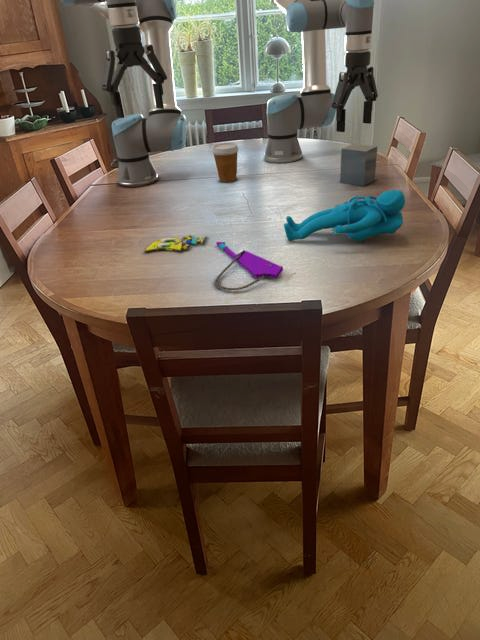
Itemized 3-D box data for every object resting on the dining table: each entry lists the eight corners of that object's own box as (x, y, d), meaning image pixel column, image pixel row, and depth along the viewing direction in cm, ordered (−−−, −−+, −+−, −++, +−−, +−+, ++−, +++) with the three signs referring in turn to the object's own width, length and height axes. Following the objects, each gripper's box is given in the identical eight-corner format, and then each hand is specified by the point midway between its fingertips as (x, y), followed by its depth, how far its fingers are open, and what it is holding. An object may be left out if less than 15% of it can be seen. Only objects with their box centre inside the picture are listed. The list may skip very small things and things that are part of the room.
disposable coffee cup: (210, 183, 175) (207, 149, 168) (221, 175, 182) (218, 142, 175) (235, 184, 171) (232, 149, 165) (244, 176, 178) (242, 142, 172)
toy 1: (199, 248, 125) (143, 249, 127) (199, 251, 125) (144, 252, 127) (206, 233, 133) (154, 234, 135) (206, 236, 133) (154, 237, 136)
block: (363, 186, 159) (366, 151, 153) (340, 182, 164) (341, 148, 158) (374, 180, 163) (377, 146, 157) (351, 176, 169) (352, 143, 163)
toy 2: (287, 204, 132) (400, 176, 122) (297, 239, 137) (406, 215, 127) (278, 228, 119) (405, 199, 108) (290, 266, 124) (412, 242, 113)
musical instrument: (257, 302, 103) (298, 254, 115) (255, 294, 102) (297, 246, 114) (172, 286, 116) (218, 244, 128) (170, 279, 114) (216, 237, 127)
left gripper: (90, 31, 118) (110, 122, 129) (171, 21, 131) (182, 105, 143) (76, 32, 122) (96, 120, 134) (155, 22, 136) (168, 103, 148)
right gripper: (341, 56, 132) (338, 136, 144) (393, 46, 145) (386, 120, 157) (320, 56, 137) (319, 134, 148) (372, 46, 150) (367, 118, 162)
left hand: (141, 112), depth 138 cm, fingers open, 13 cm apart
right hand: (354, 127), depth 153 cm, fingers open, 13 cm apart
